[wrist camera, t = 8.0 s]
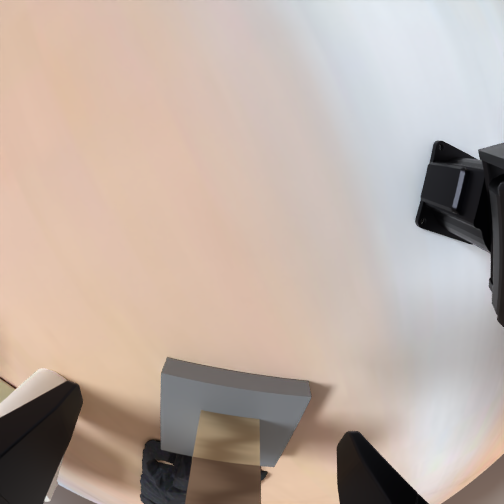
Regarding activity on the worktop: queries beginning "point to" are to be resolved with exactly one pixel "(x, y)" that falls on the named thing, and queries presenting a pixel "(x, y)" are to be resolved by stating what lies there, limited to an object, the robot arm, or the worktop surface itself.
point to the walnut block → (223, 483)
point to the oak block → (228, 438)
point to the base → (228, 405)
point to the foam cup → (29, 391)
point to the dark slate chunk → (165, 475)
